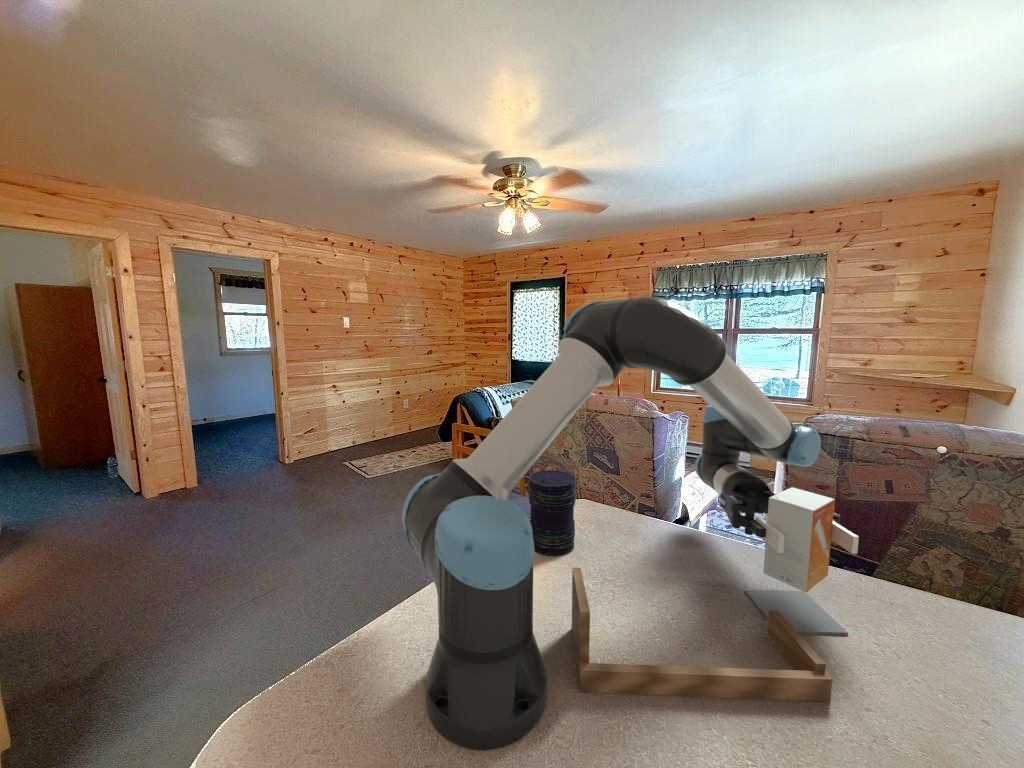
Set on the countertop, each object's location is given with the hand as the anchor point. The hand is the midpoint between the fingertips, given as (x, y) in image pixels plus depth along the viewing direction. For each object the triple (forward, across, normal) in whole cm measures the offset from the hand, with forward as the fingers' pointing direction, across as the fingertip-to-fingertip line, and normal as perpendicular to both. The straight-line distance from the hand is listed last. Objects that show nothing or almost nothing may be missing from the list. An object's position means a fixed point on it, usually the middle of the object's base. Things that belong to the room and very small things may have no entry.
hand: (818, 544), depth 60 cm
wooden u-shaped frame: (+6, +21, -14) cm, 26 cm away
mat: (-4, 0, -14) cm, 14 cm away
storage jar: (-24, +38, -14) cm, 47 cm away
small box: (-4, 0, -8) cm, 9 cm away
